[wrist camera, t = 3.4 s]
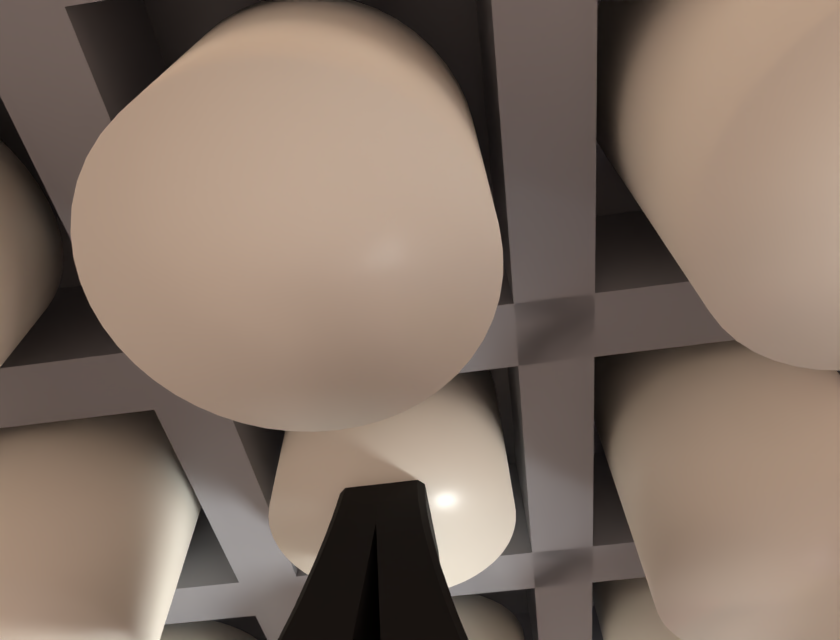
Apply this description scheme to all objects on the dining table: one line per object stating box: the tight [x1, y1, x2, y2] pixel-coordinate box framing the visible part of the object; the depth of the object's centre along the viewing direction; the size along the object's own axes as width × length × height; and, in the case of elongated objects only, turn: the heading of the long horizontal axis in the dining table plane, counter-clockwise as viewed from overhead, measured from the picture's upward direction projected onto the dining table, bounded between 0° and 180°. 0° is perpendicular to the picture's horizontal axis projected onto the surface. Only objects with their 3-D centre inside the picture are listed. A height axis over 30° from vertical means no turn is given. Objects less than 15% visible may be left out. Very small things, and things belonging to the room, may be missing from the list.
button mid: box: [268, 370, 516, 588], centre depth 13 cm, size 4×4×3 cm
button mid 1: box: [71, 0, 503, 432], centre depth 8 cm, size 4×4×3 cm
